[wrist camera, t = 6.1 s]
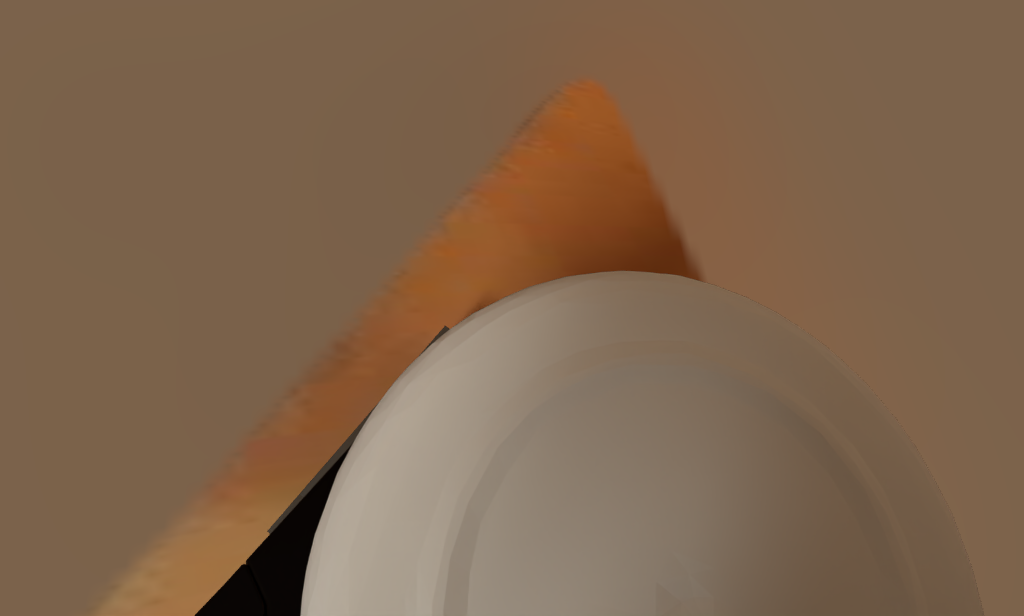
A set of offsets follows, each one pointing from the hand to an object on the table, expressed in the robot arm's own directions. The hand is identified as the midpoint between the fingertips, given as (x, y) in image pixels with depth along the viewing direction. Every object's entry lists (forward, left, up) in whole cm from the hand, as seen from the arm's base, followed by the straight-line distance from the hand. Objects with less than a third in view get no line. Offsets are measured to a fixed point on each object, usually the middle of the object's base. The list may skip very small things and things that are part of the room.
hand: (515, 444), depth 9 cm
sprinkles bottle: (-1, -1, -7) cm, 7 cm away
